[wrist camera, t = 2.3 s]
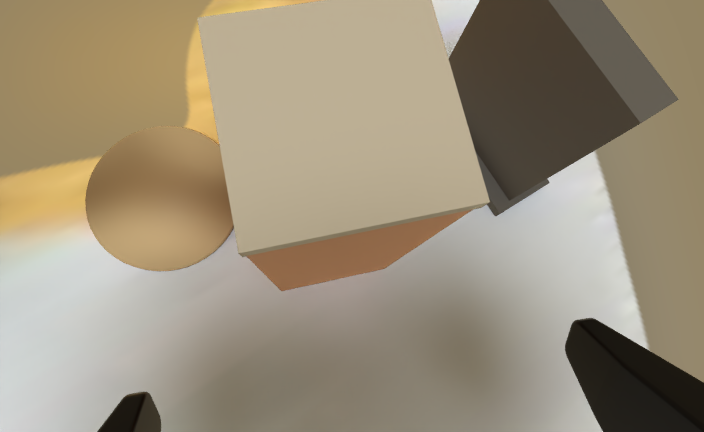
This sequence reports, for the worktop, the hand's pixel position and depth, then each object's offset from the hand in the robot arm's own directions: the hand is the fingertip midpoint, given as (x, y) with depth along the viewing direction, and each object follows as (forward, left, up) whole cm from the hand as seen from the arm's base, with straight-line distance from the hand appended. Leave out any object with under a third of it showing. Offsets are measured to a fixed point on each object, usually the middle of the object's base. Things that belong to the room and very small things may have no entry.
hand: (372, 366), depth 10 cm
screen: (+8, -9, -12) cm, 17 cm away
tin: (+5, 0, -12) cm, 13 cm away
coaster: (+8, +7, -12) cm, 16 cm away
